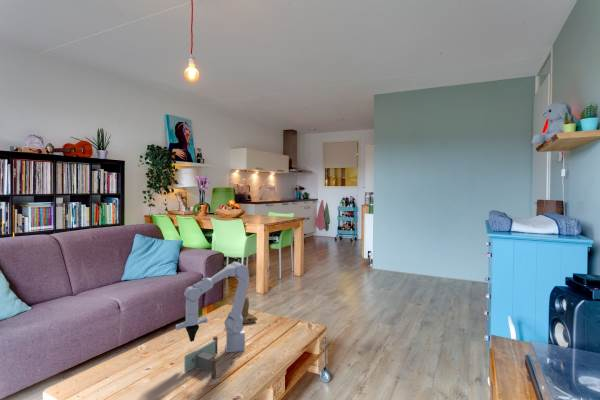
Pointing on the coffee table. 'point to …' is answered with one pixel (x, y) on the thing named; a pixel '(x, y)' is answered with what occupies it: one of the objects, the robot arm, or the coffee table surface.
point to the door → (191, 357)
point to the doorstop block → (204, 361)
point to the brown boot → (246, 316)
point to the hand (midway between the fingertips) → (191, 340)
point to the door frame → (214, 362)
